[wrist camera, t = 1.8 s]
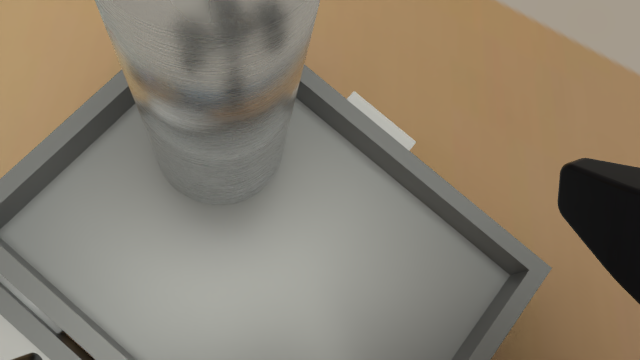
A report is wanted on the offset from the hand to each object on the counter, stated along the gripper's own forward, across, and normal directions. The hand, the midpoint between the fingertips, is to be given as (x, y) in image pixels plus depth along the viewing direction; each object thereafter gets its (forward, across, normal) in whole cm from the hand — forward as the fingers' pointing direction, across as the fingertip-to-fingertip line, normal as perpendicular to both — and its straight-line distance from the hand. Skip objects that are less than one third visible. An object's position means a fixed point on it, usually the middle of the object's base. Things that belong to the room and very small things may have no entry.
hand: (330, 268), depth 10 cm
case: (+10, 0, +8) cm, 13 cm away
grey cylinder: (+13, 0, +4) cm, 13 cm away
